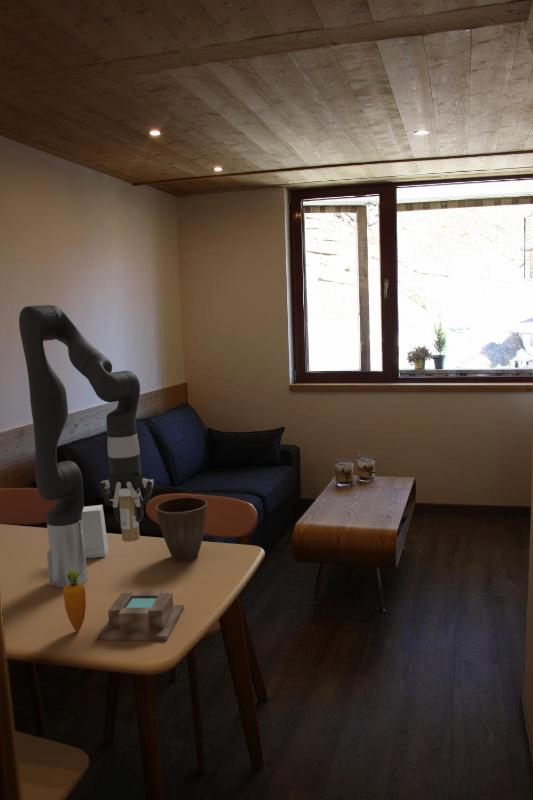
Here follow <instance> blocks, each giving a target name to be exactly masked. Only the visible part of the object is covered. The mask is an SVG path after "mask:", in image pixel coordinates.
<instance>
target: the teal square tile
mask: <svg viewBox="0 0 533 800" xmlns="http://www.w3.org/2000/svg"><path fill="white" fill-rule="evenodd" d="M156 599H157V598H132V600H131V601H130V602H129V604H128V605H127V607H126V608H151V607H152V605H153V603H154V602H155V600H156Z"/></svg>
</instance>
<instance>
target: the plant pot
mask: <svg viewBox="0 0 533 800" xmlns="http://www.w3.org/2000/svg"><path fill="white" fill-rule="evenodd" d="M207 510H208V502H207V501H206V500H205V499H203V498H199V497H178V498H172V499H166V500H164V501H162V502H159V503H158V504H156V506H155V511H156V515H157V519H158V524H159V528H160V530H161V534H162V536H163V539H164V541H165V545H166V547H167V548H168V551H169V553H170V555H171V557H172V559H173V560H174V561H176V560H177V561H178V562H188V561H189V562H190V561H192V560H194V559H197V557H198V556H199V553H200V551H201V545H202V542H203V538H204V534H205V527H206V519H207Z"/></svg>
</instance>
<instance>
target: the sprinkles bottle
mask: <svg viewBox="0 0 533 800" xmlns="http://www.w3.org/2000/svg"><path fill="white" fill-rule="evenodd" d="M136 493H137V492H136ZM136 507H137V506H136V504H135V501H134V499H133V498H132V496H131V491H130V489H128V488H121V489H119V510H120V521H121V522H120V528H121V534H122V535H121V540H122V541H123V542H125V543H126V542H127V543H131V542H136V541H138V540H140V538H141V534H140V527H139V526H140V522H137V521H136V509H135V508H136Z"/></svg>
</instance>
